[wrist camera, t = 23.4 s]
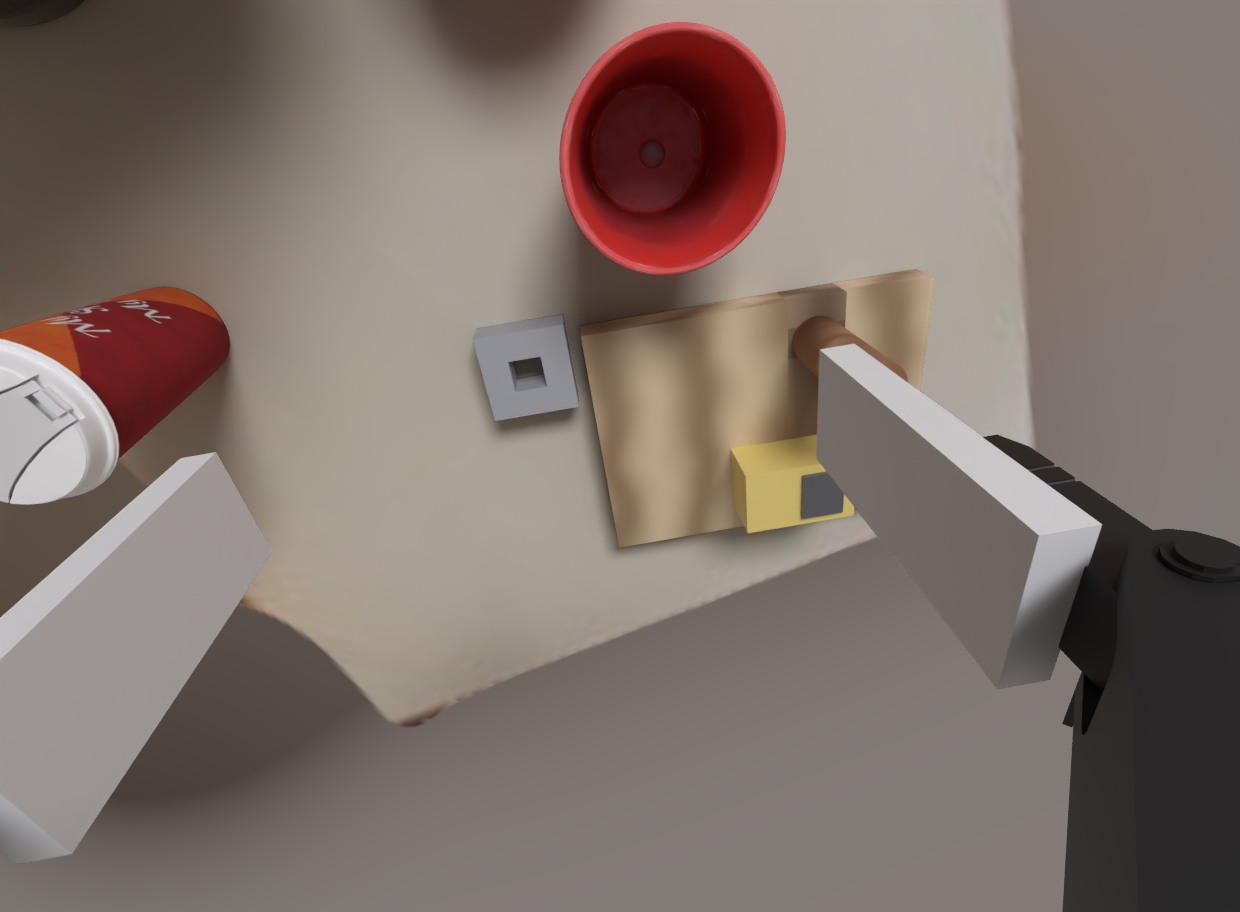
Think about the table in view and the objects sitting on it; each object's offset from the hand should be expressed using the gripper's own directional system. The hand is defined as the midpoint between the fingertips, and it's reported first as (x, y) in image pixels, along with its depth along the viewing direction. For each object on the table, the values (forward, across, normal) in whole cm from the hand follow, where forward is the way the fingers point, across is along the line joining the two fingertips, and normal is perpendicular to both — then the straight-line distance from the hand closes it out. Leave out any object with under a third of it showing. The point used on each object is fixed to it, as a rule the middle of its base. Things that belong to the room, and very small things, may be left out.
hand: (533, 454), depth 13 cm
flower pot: (+29, +7, +4) cm, 30 cm away
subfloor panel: (+29, +13, -15) cm, 35 cm away
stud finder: (+26, +15, -19) cm, 36 cm away
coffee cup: (+29, -25, -2) cm, 38 cm away
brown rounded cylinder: (+28, +17, -9) cm, 34 cm away
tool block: (+29, -3, -8) cm, 30 cm away
